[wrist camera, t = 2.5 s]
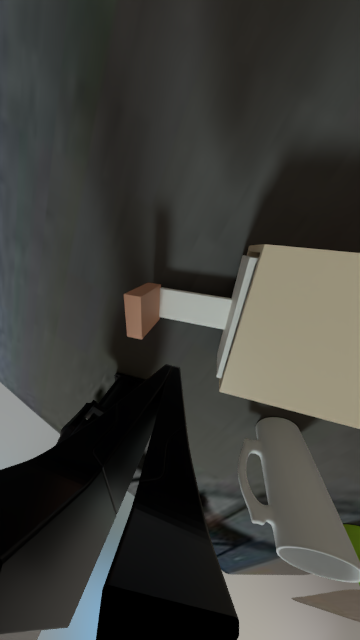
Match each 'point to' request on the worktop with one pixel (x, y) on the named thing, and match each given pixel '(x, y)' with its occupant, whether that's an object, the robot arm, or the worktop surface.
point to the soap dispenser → (354, 537)
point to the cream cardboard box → (300, 334)
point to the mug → (297, 503)
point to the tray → (191, 309)
